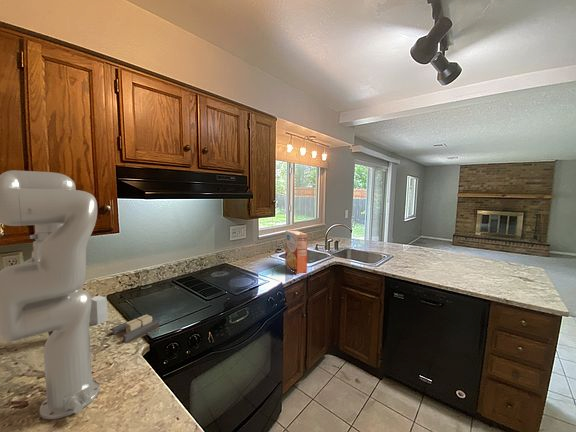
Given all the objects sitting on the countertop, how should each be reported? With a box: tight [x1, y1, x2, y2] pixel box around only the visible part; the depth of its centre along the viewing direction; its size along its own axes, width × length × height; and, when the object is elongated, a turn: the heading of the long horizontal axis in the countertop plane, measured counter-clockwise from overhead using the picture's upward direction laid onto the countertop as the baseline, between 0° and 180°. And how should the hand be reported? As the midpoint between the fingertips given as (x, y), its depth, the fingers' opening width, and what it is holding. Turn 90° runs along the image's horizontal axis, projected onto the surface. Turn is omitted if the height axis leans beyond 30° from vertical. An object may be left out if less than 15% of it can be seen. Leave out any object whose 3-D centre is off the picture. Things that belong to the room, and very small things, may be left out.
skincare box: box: [89, 295, 109, 326], centre depth 109 cm, size 6×4×12 cm
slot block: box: [111, 314, 161, 345], centre depth 102 cm, size 13×13×4 cm
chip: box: [125, 318, 141, 333], centre depth 101 cm, size 4×4×4 cm
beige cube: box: [137, 314, 153, 327], centre depth 105 cm, size 4×4×4 cm
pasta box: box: [284, 229, 308, 275], centre depth 190 cm, size 23×8×30 cm, turn 22°
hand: (53, 281), depth 91 cm, fingers open, 9 cm apart
